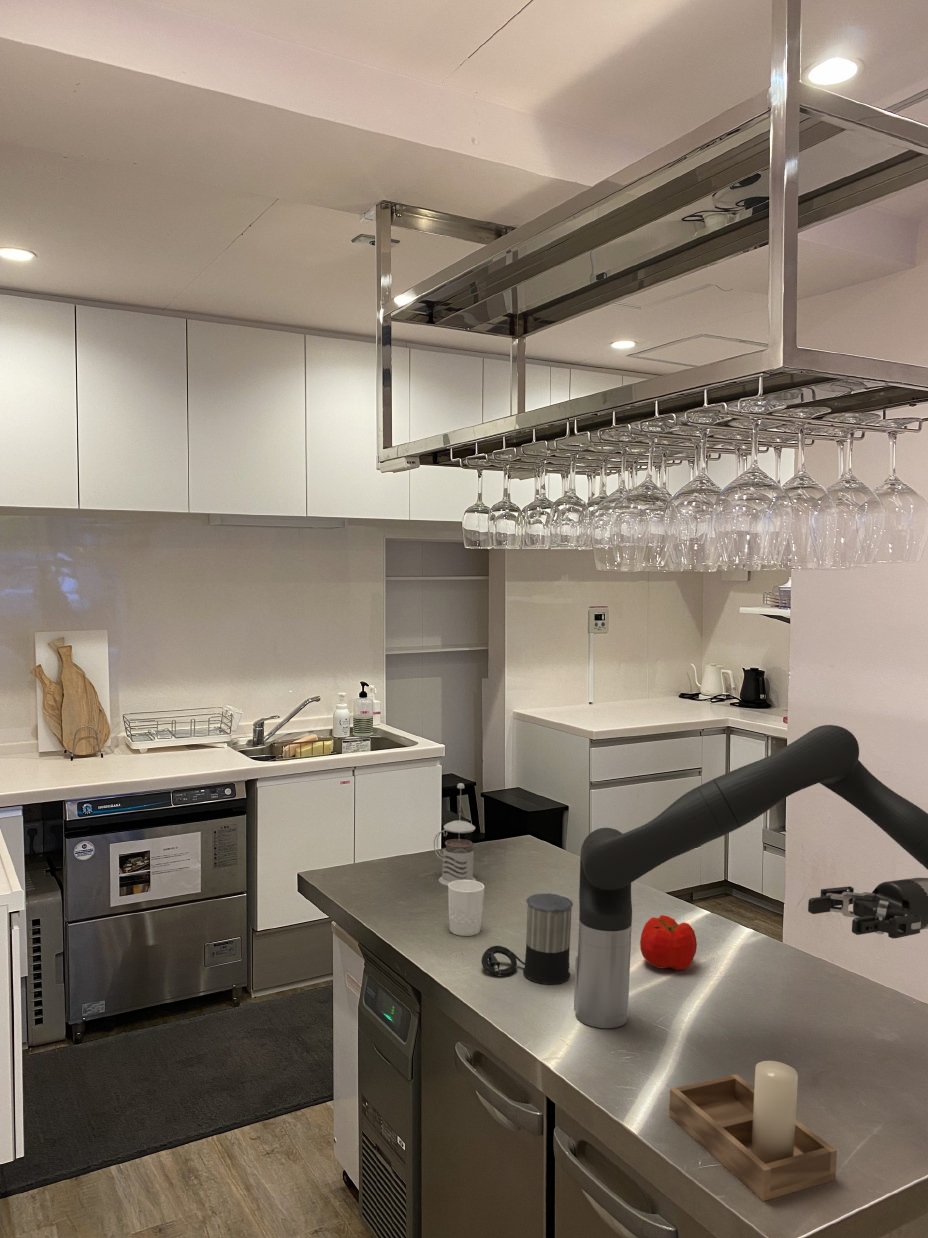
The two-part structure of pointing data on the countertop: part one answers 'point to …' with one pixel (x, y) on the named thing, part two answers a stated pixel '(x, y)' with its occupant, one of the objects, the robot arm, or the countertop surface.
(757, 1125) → the cream pillar candle
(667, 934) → the tomato
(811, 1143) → the wooden divided tray
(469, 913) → the white cup
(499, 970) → the milk frother
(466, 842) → the french press
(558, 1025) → the countertop surface
